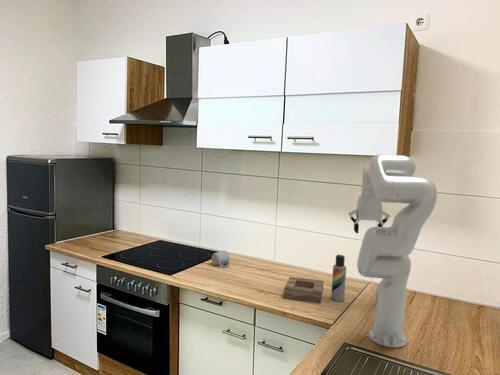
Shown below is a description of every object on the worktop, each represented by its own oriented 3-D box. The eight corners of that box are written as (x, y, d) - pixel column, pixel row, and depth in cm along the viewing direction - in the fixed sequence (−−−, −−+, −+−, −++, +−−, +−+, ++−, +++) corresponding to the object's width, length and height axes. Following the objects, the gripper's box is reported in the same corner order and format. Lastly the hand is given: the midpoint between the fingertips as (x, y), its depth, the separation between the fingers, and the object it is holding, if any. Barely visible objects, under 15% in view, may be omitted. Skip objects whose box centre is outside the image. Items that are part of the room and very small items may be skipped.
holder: (320, 303, 165) (321, 292, 164) (283, 298, 169) (284, 287, 168) (323, 291, 180) (323, 280, 180) (289, 286, 184) (289, 276, 184)
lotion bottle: (334, 295, 175) (337, 252, 173) (346, 299, 171) (349, 255, 169) (328, 299, 170) (331, 255, 169) (340, 302, 167) (343, 257, 165)
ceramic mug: (210, 264, 216) (210, 251, 216) (222, 262, 222) (222, 249, 221) (220, 269, 208) (221, 255, 208) (233, 267, 213) (233, 253, 213)
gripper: (388, 193, 166) (385, 232, 167) (348, 191, 166) (345, 230, 168) (394, 195, 158) (390, 236, 160) (352, 193, 159) (349, 234, 161)
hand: (367, 233), depth 164 cm, fingers open, 9 cm apart
